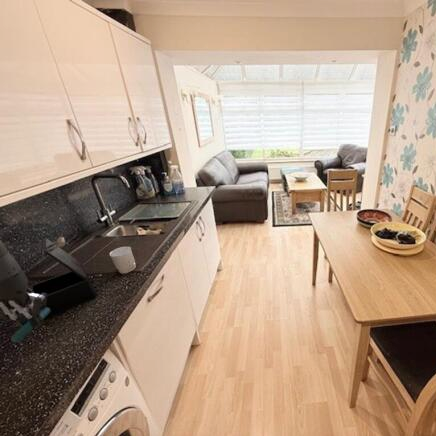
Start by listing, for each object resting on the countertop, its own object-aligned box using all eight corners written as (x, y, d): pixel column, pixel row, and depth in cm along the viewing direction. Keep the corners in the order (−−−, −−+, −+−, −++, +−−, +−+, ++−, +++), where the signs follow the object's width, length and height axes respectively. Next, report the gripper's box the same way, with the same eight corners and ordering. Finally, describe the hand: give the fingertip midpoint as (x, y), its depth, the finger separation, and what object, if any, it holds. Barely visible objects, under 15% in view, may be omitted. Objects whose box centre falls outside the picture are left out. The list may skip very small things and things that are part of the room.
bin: (41, 322, 83) (28, 303, 79) (41, 303, 91) (29, 285, 88) (96, 298, 93) (86, 280, 89) (91, 283, 101) (83, 266, 97)
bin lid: (43, 252, 78) (59, 242, 80) (43, 239, 87) (58, 230, 89) (85, 280, 88) (98, 270, 91) (81, 266, 97) (93, 257, 99)
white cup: (139, 269, 109) (132, 250, 104) (119, 277, 104) (111, 258, 99) (135, 262, 114) (128, 244, 110) (116, 269, 109) (107, 251, 105)
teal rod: (20, 341, 59) (12, 336, 58) (14, 345, 59) (5, 340, 58) (54, 309, 68) (47, 304, 67) (48, 312, 68) (41, 308, 68)
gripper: (-55, 287, 52) (-10, 341, 60) (13, 281, 53) (50, 335, 61) (-19, 267, 59) (18, 317, 66) (41, 262, 60) (71, 312, 67)
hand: (33, 325), depth 63 cm, fingers closed on teal rod, 2 cm apart
